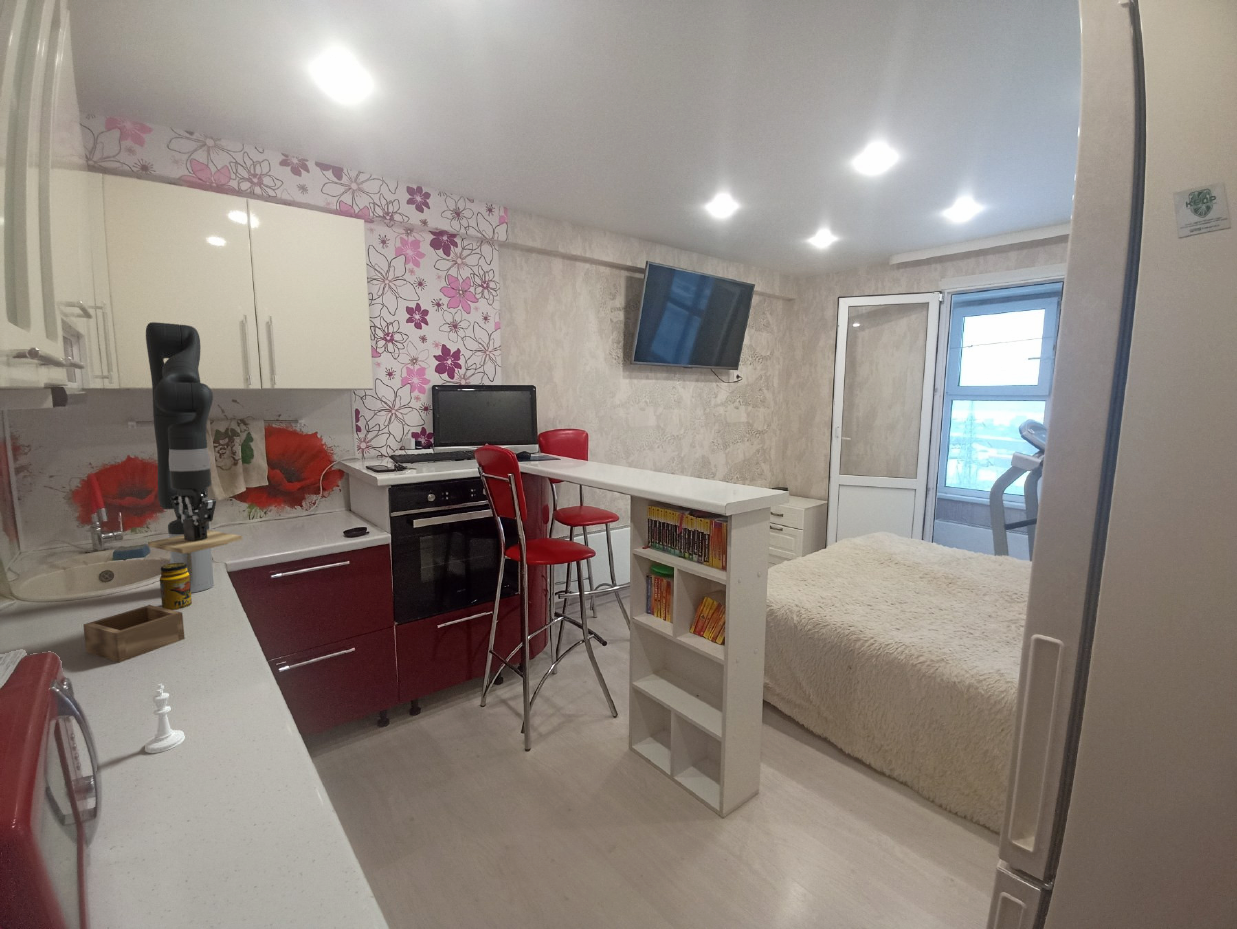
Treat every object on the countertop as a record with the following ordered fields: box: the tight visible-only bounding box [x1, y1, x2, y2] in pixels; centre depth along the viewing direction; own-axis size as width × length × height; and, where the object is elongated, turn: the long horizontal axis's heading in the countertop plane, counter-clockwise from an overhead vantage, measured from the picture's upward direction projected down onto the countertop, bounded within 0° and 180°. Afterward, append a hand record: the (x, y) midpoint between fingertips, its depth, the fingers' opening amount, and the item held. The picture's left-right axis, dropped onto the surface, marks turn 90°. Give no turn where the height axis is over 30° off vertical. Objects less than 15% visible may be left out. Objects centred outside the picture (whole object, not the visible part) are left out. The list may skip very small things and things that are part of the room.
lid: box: [147, 517, 243, 554], centre depth 128 cm, size 13×13×7 cm
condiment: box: [159, 562, 193, 611], centre depth 139 cm, size 7×8×12 cm
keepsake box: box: [83, 604, 186, 664], centre depth 117 cm, size 12×12×7 cm
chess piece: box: [144, 683, 186, 754], centre depth 85 cm, size 5×5×10 cm
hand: (196, 538), depth 128 cm, fingers closed on lid, 3 cm apart
